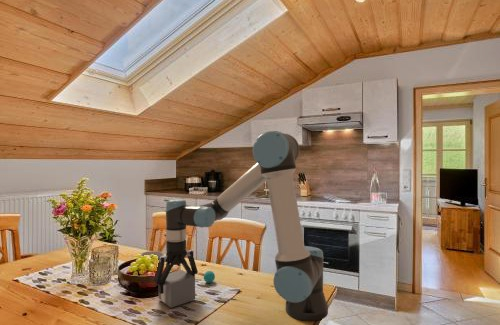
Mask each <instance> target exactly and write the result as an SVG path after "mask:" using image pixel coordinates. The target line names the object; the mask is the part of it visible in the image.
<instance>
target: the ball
mask: <svg viewBox="0 0 500 325" xmlns="http://www.w3.org/2000/svg"><path fill="white" fill-rule="evenodd" d="M215 278H216V275H215V273H214V271H211V270H207V271H206V272H204V274H203V281H205V283H207V284H210V283H213V282H214V281H215Z"/></svg>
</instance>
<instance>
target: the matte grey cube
mask: <svg viewBox="0 0 500 325" xmlns="http://www.w3.org/2000/svg"><path fill="white" fill-rule="evenodd" d="M164 284H166V302H165V303H164V302H163V301H161V294H160V293H159V285H157V286H158V289H157V290H158V300H159V301H161V302H163V303H164V304H165V305H166V306H168V307H169V308H170V309H172V308H175V307H177V306H181V305H184V304H186V303H189V302H193V301H195V300H196V275H195V276H193V275H191V274H189V273H187V272H186V270H183V269H180V270H176V271H172V272H169V274H168V277H167V279H166V281H165V283H164Z"/></svg>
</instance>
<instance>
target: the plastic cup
mask: <svg viewBox="0 0 500 325" xmlns="http://www.w3.org/2000/svg"><path fill="white" fill-rule="evenodd" d="M151 254H154V255H157V256H158V257H159V256H161V257H162V256H166V253H164V252H162V251H158V250H150V251H149V250H148V251H144V252H141V253H140V254H139V257H140V256H144V255H151Z"/></svg>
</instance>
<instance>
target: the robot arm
mask: <svg viewBox="0 0 500 325" xmlns="http://www.w3.org/2000/svg"><path fill="white" fill-rule="evenodd" d="M300 152H301V151H300V145H299V143H298V140H297V139H296V138H295V137H294V136H293V135H290V134H288V133H283V132H281V131H277V130H272V131H271V130H270V131H265V132H263V133H262V134H260V135H259V136H257V138H256V139H255V141H254V143H253V146H252V156H253V160H255V164H254V165H253V166H251V168H249V169H248V170H247V171H246V172H244V174H242V175H241V176H240V177H238V179H237V180H236V181H234V182H233V183H232V184H231V185H230V186H228V187H227V189H225V190H224V191H223V192H222V193H221V194H219V195H218V196H217V197H216V198H214V199H213V201H211V202H209V203H204V204H200V205H187V201H186V200H185V199H182V198H180V199H179V198H176V199H175V198H174V199H169V200H167V201H166V203H165V204H166V205H165V206H166V207H165V220H166V224H165V226H166V230H165V236H166V237H165V238H166V244H165V245H166V247H165V248H166V253H165V256H162V257H161V256H159V257H158V260H159V263H158V267H157V271H156V274H155V278H154V282H153V283H154V284H155V285H156V286H158V285H159V291H158V294H159V293H160V294H161V300H160V301H161V302H162V301H163V304H165V302H166V284H164V283H165V281H166V279H167V277H168V274H169V273H171V271H172V268H174V266H176V265H180V264H181V265H182V267H183V268H184V271H185V272H187V273H189V274H191V275H193V276H195V277H196V275H198V273H199V272H198V267H197V264H196V261H195V258H194V251H193V250H191V249H188V250H187V240H186V239H187V226H189V227H198V228H211V227H212V226H213V224H215V222H216V221H217V222H218V221H220V220H223V219H224V218H226V217H227V216H228V215H229V213H230V211H232V210H233V209H234V208H236V207H237V206H238V205H239V204H240V203H241V202H243V201H244V200H245V199H246V198H247V197H249V196H250V195H251V194H252V193H253V192H255V191H256V190H257V189H259V187H261V186H263V184H264V183H267V189H268V190H267V191H268V196H269V201H270V207H271V214H272V220H273V226H274V232H275V239H276V245H277V250H278V252H277V253H276V254H275V256H274V262H275V268H276V271H275V273H274V275H273V276H274V277H273V287H274V289H275V291H276V293H277V294H278V296H279V297H281V298H282V299H283V300H285V312H286V313H287V314H288V315H289V316H290V317H291V318H294V319H296V320H299V321H306V322H316V321H320V320H323V319H325V318H327V317H328V314H329V306H328V303H327V300H326V296H325V293H324V259H325V257H324V251H323V250H322V249H320V248H318V247H314V246H310V245H309V246H307V245H305V242H304V235H303V230H302V223H301V219H300V218H301V217H300V213H299V212H300V211H299V205H298V201H297V194H296V188H295V183H294V176H293V175H294V173H295V172H296V171H297V165H296V161H297V159H299V158H298V157H299V156H300ZM186 257H187V259H188V262H189V264H188V262H187V260H186ZM166 260H167V261H166ZM165 263H166V264H165ZM189 265H190V266H189ZM164 266H165V267H164Z"/></svg>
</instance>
